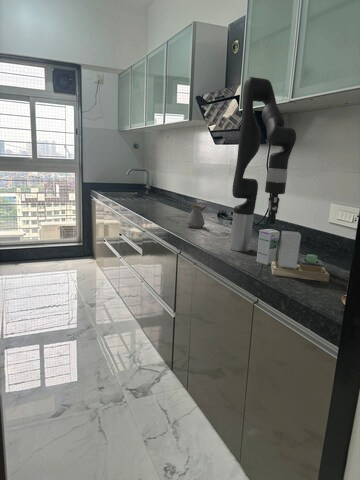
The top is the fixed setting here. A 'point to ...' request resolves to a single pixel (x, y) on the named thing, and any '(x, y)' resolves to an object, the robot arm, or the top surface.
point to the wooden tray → (302, 272)
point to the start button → (311, 258)
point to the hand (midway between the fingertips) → (271, 222)
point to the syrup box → (268, 246)
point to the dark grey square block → (303, 262)
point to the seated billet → (289, 250)
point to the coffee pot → (196, 217)
